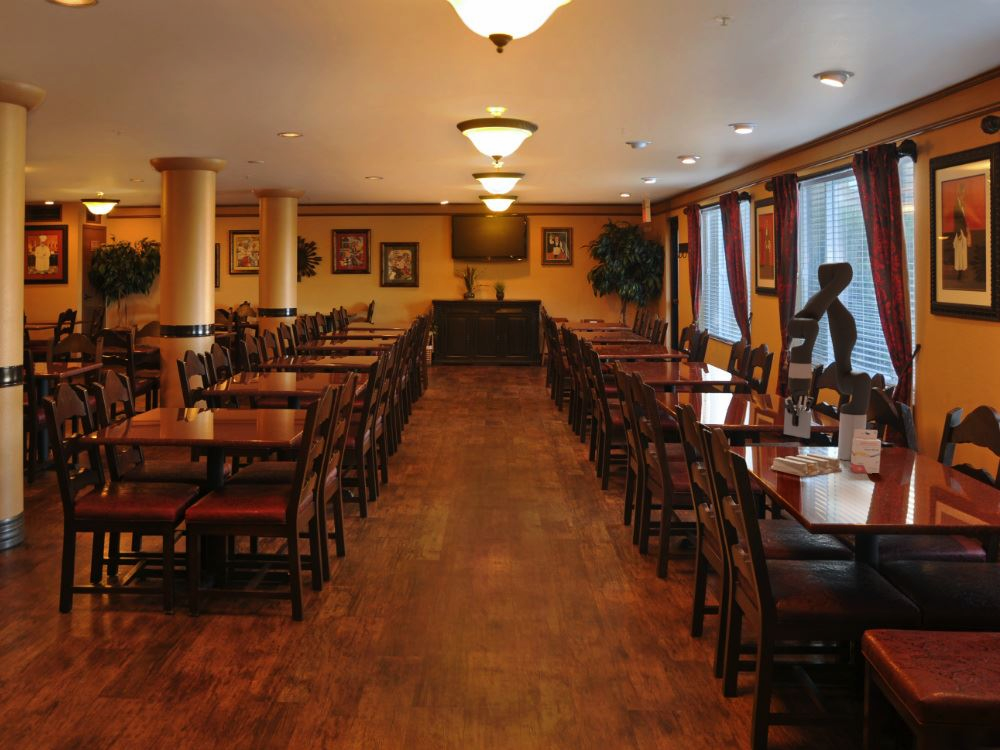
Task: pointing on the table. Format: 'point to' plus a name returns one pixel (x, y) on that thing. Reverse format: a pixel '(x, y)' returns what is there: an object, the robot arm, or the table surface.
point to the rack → (807, 464)
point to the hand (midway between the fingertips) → (797, 425)
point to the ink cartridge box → (865, 452)
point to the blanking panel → (803, 424)
